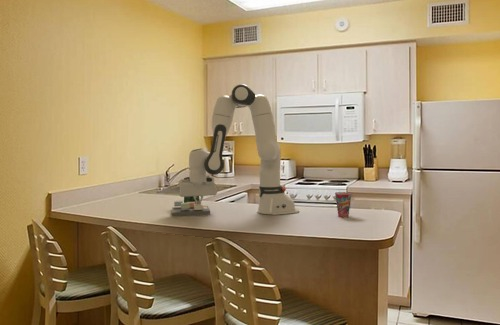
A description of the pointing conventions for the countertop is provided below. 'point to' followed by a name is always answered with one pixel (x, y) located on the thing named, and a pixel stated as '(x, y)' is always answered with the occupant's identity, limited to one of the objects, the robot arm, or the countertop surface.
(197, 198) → the coffee jar
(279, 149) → the robot arm
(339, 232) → the countertop surface
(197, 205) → the key
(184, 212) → the keypad board
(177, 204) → the key
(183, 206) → the key
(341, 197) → the cup
